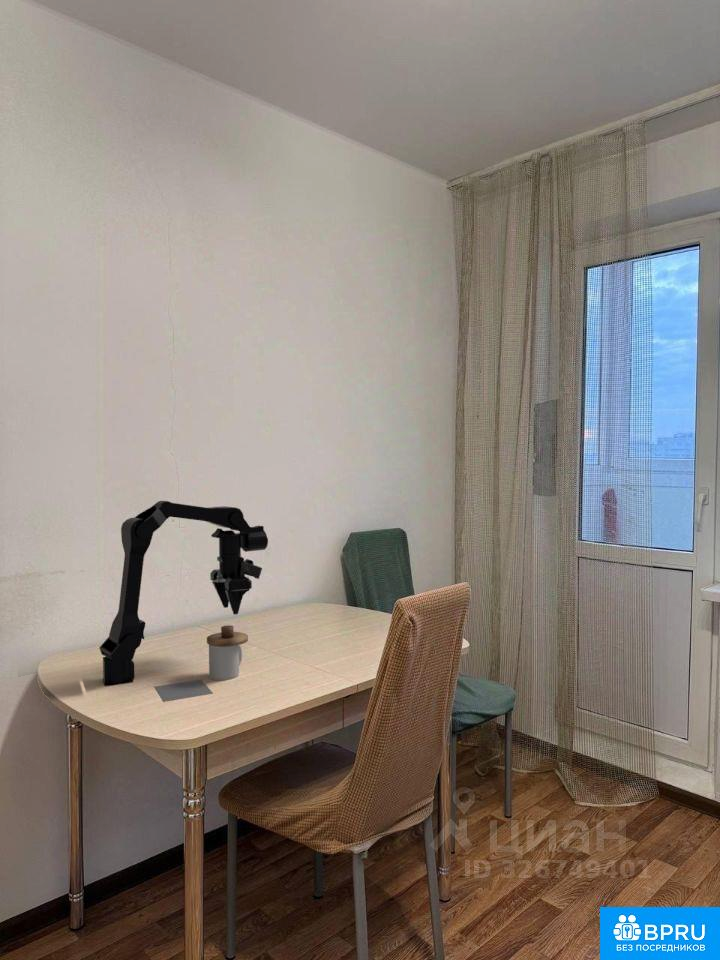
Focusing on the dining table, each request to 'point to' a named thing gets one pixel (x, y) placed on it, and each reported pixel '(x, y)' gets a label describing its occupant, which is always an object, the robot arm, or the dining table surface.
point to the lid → (227, 637)
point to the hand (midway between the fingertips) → (230, 610)
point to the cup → (224, 662)
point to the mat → (182, 690)
